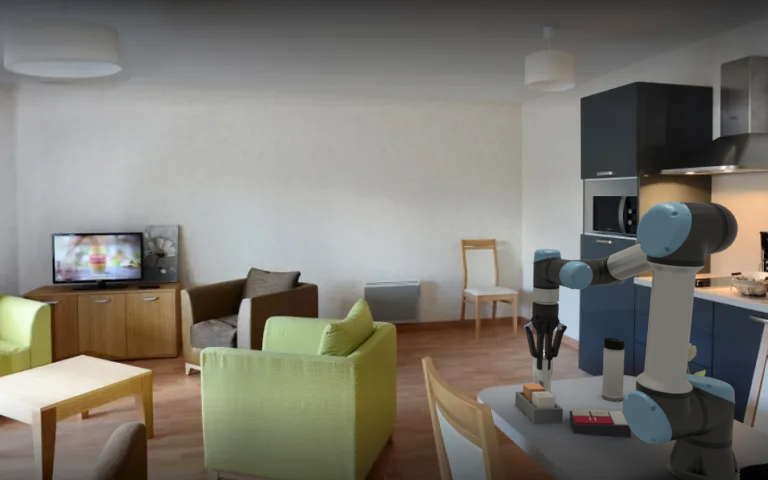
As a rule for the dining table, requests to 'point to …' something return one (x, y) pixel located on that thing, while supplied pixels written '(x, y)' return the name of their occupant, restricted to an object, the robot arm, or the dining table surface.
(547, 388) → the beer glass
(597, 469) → the dining table surface
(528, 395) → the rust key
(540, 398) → the cream key
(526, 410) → the key housing
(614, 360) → the travel mug
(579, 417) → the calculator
